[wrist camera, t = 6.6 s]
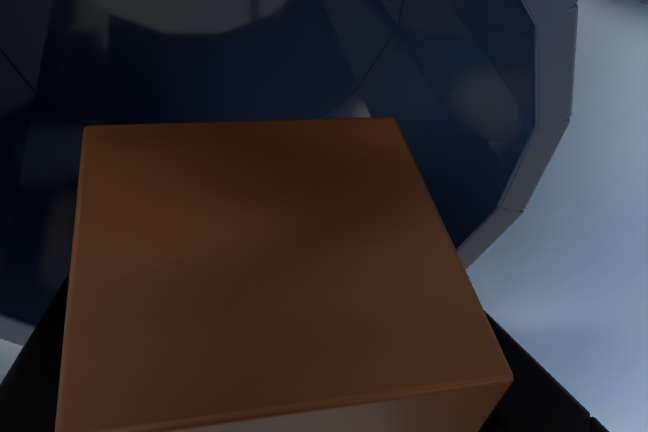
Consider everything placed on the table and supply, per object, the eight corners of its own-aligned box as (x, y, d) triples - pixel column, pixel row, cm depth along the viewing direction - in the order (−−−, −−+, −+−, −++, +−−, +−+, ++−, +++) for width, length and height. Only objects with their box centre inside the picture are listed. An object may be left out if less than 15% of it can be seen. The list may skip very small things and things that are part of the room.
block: (395, 114, 9) (519, 379, 6) (351, 292, 12) (418, 523, 9) (82, 123, 8) (51, 445, 5) (121, 314, 11) (114, 582, 8)
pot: (505, -15, 17) (656, 163, 12) (207, 211, 21) (230, 414, 16) (191, -555, 9) (258, -679, 4) (-187, -30, 13) (-378, 219, 8)
